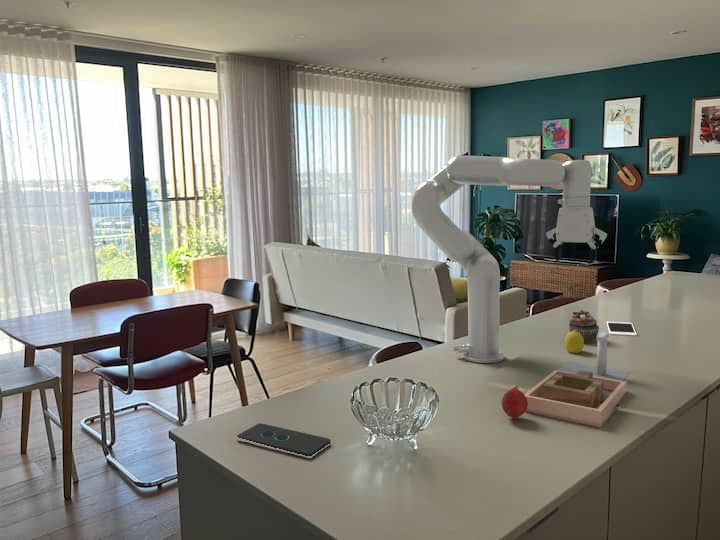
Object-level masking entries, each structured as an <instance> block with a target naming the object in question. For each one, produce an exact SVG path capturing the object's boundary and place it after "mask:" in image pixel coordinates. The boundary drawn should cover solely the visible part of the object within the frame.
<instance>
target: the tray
mask: <svg viewBox="0 0 720 540" xmlns="http://www.w3.org/2000/svg"><path fill="white" fill-rule="evenodd" d="M558 373H563V374H569V375H575V374H577V373H571V372H565V371H559V369H554V370H553V371H552V372H551V373H550V374H547V376H546V377H544V378H543V379H542V380H541V381H539V382H538V383H537V384H535V385H534V386H533V387H532V388H531V389H529V390H528V391H527V392H525V393H523V394H524V395H525V397H526V399H527V402H528V406H527V410H526V412H525V413H530V414H534V415H539V416H544V417H549V418H553V419H558V420H562V421H568V422H571V423H575V424H582V425H586V426H591V427H595V428H599V429H601V428H602V427H603V425H605V423H606V422H607V421H608V419H610V417H611V415H612V414H613V413H614V412H615V411H616V410H617V408H618V407H619V406H620V405H619V404H618V403H619V401H620V400H621V399H622V398H623V396H625V394H626V393H627V390H628V389H627V384H628V381H625V380H623V381H620V380H614V379H608V378H602V377H596V376H593V379H599V380H604V384H603V390H606V391H611V393H610V394H609V396H608V397H607V398H606V399H605V400H604V401H600V402H601V403H600V404H599V405H598V406H597V407H596V408H590V407H585V406H580V405H575V404H570V403H564V402H559V401H554V400H549V399H544V398H543V385H544V384H545V383H546V382H548V381H549V380H550V379H551V378H553V377H554V376H555V375H556V374H558Z"/></svg>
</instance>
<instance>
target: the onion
mask: <svg viewBox="0 0 720 540" xmlns="http://www.w3.org/2000/svg"><path fill="white" fill-rule="evenodd" d="M524 394H525V393H523V392H522V391H521V390H519V386H518V385H513V387H512V388H511V389H509V390H507V391H506V392H505V393H504V394H503V397H502V399H501V408H502V410H503V412H504V413H505V414H506V416H509V418H511V419H514V420H517V419H518V418H520V417H521V416H523V415H524V414H525V413H527V412H526V410H527V406H528V402H527V399H526V397H525V395H524Z"/></svg>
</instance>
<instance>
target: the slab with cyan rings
mask: <svg viewBox="0 0 720 540" xmlns="http://www.w3.org/2000/svg"><path fill="white" fill-rule="evenodd" d="M236 437H239V438H242V439H246V440H249V441H253V442H256V443H260V444H264V445H267V446H271V447H274V448H279V449H283V450H286V451H290V452H294V453H297V454H302V455H305V456H312V455H313V454H315V453H316V452H318V451H319V450H321V449H322V448H324V447H325V446H326V445H328V444H330V443H331V439H330V438H327V437H324V436H318V435H314V434H310V433H305V432H302V431H301V432H300V431H296V430H293V429H288V428H283V427H278V426H274V425H272V424H271V425H270V424H267V423H266V424H265V423H261V422H260V423H257V424H255V425H253V426H251V427H250V428H247V429H246V430H244V431H242V432H241V433H239V434H237V435H236Z"/></svg>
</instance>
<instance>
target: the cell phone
mask: <svg viewBox="0 0 720 540" xmlns="http://www.w3.org/2000/svg"><path fill="white" fill-rule="evenodd" d="M606 326H607V327H608V328H607V331H609V332H608V333H609V334H610V335H609V336H620V335H626V336H627V337H638V334H637V332H636V331H637V330H636V329H635V327H634V324H633V322H626V321H625V322H624V321H623V322H622V321H606Z"/></svg>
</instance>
